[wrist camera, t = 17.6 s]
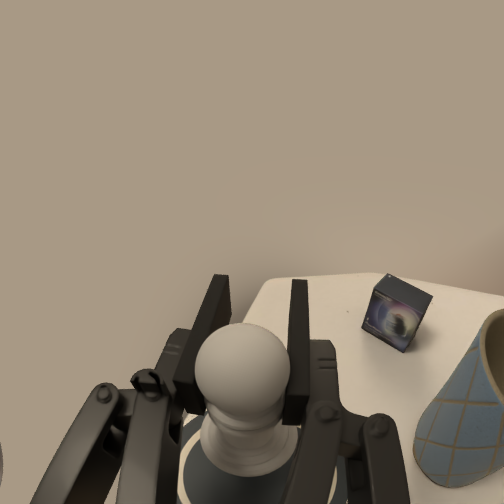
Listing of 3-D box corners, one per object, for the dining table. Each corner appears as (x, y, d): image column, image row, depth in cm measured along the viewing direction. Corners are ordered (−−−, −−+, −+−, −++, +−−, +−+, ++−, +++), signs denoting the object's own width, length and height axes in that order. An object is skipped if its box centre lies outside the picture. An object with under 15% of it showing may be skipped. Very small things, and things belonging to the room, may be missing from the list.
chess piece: (278, 490, 10) (302, 438, 5) (185, 456, 12) (124, 367, 7) (307, 412, 14) (339, 302, 10) (225, 388, 16) (207, 273, 11)
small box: (359, 329, 50) (371, 286, 44) (374, 312, 53) (387, 271, 48) (402, 355, 43) (423, 313, 37) (415, 335, 46) (434, 294, 41)
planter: (440, 377, 36) (493, 289, 26) (507, 422, 23) (576, 344, 13) (383, 456, 27) (458, 381, 17) (465, 510, 13) (568, 454, 3)
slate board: (172, 559, 7) (169, 560, 7) (159, 410, 17) (157, 407, 17) (373, 523, 9) (375, 522, 8) (318, 387, 19) (319, 384, 18)
